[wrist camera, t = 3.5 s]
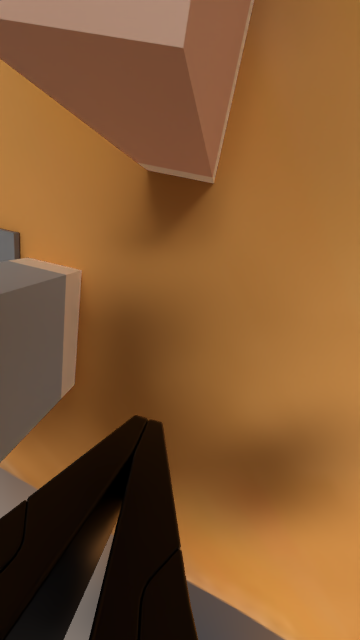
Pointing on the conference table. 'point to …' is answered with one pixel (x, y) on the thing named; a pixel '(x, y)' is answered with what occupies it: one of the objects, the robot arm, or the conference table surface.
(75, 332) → the blue-grey block
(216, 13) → the terracotta block
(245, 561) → the conference table surface
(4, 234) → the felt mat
